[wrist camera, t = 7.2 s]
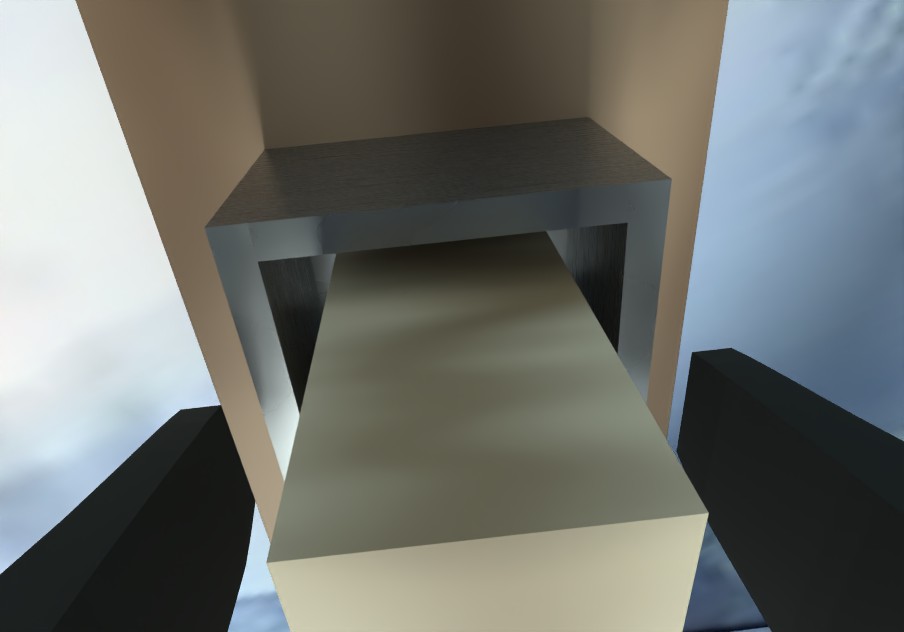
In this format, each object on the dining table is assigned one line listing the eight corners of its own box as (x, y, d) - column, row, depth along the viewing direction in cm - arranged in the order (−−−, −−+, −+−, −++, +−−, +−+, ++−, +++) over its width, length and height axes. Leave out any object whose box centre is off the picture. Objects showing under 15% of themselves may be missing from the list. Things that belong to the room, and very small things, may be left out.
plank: (713, -103, 11) (744, -112, 10) (629, 594, 23) (640, 624, 22) (89, -47, 11) (58, -49, 10) (317, 632, 22) (314, 665, 21)
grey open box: (588, 116, 12) (672, 179, 8) (578, 377, 16) (635, 503, 12) (264, 149, 12) (204, 227, 8) (326, 405, 15) (303, 542, 12)
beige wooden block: (533, 209, 12) (708, 512, 5) (533, 365, 14) (659, 732, 7) (342, 227, 12) (267, 562, 5) (369, 382, 14) (341, 772, 7)
